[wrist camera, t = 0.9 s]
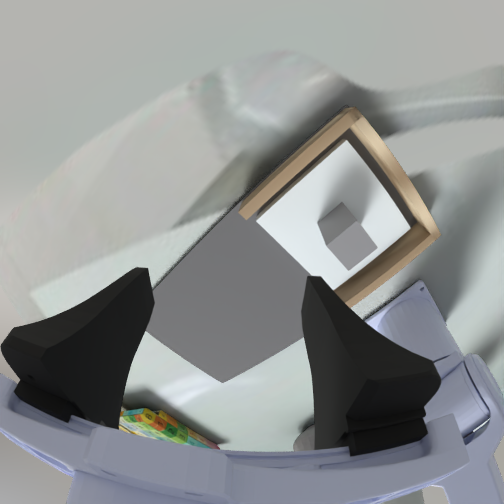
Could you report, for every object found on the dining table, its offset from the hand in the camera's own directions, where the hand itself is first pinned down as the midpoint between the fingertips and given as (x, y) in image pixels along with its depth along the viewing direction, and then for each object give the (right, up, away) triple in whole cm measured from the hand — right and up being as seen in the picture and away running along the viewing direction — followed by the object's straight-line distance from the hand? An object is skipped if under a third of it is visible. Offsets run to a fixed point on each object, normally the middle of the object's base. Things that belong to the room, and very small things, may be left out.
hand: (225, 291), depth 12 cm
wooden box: (+8, +5, +9) cm, 13 cm away
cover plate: (+8, +4, +9) cm, 13 cm away
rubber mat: (+3, -1, +13) cm, 13 cm away
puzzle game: (-14, -31, +30) cm, 45 cm away
